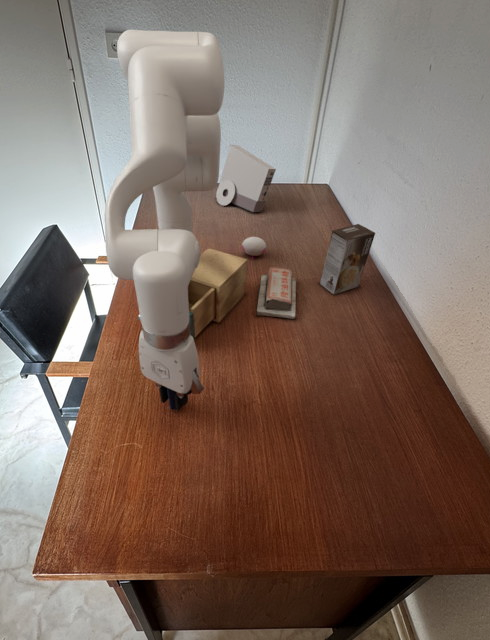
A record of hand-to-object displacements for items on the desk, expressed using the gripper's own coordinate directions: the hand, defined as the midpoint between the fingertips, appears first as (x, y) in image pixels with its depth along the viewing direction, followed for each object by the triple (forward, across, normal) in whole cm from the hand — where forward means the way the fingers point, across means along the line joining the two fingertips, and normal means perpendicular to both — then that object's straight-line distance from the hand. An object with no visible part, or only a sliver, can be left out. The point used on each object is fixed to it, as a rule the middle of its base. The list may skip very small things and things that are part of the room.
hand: (174, 400), depth 73 cm
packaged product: (+3, +2, +46) cm, 46 cm away
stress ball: (+3, -14, +64) cm, 66 cm away
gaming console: (+4, -35, +96) cm, 103 cm away
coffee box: (+3, +15, +60) cm, 62 cm away
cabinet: (+3, -12, +36) cm, 37 cm away
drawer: (+2, -12, +21) cm, 24 cm away
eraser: (+2, 0, 0) cm, 2 cm away
